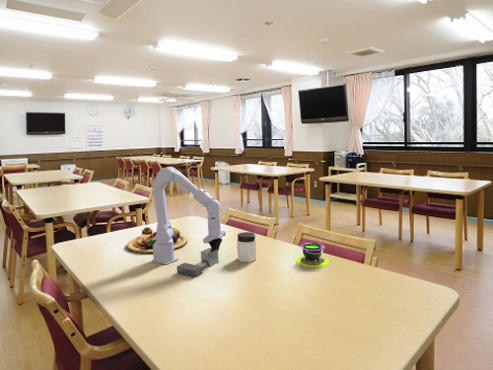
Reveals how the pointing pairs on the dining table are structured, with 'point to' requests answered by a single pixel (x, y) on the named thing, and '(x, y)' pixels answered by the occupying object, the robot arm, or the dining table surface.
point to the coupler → (192, 269)
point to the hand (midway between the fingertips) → (215, 254)
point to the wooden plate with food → (153, 241)
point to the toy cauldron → (312, 255)
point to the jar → (246, 247)
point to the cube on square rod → (210, 256)
